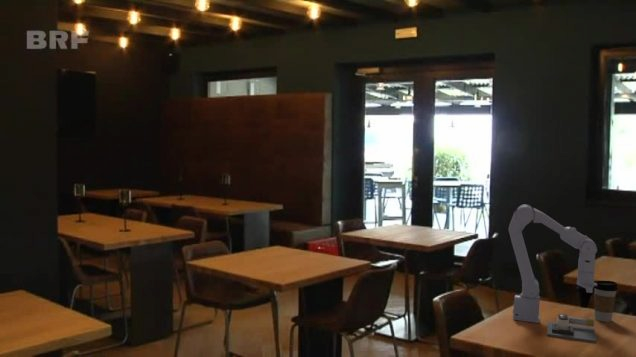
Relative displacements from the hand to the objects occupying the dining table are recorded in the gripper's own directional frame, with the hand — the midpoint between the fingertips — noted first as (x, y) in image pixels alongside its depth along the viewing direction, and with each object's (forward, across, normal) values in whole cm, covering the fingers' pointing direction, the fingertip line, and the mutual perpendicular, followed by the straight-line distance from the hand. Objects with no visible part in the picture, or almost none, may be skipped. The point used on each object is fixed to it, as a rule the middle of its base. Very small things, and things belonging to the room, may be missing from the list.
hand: (583, 307), depth 229 cm
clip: (+5, -5, +4) cm, 8 cm away
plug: (+7, -12, +9) cm, 17 cm away
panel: (+7, -10, +6) cm, 14 cm away
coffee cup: (+8, +11, -10) cm, 17 cm away
